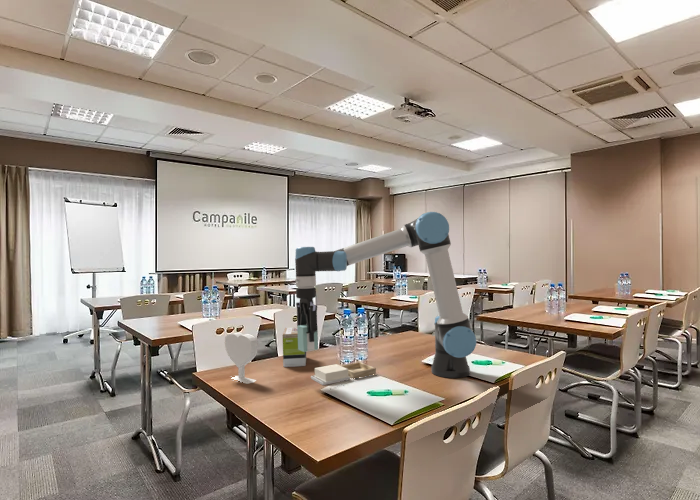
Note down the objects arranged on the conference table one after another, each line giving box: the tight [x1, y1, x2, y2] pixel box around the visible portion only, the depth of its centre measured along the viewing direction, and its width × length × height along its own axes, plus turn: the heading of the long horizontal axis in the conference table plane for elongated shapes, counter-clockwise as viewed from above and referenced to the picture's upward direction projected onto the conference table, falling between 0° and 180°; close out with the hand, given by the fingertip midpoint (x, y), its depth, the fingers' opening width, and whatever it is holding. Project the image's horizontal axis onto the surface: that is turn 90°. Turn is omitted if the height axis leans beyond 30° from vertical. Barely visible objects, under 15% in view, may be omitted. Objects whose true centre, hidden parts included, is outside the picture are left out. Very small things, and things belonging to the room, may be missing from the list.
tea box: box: [282, 327, 307, 368], centre depth 183 cm, size 15×10×15 cm, turn 5°
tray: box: [341, 361, 377, 380], centre depth 164 cm, size 12×11×3 cm
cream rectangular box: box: [310, 363, 351, 386], centre depth 158 cm, size 10×12×4 cm
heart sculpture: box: [224, 332, 259, 385], centre depth 159 cm, size 16×5×18 cm, turn 56°
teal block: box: [296, 325, 319, 353], centre depth 153 cm, size 5×6×9 cm
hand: (307, 348), depth 152 cm, fingers closed on teal block, 5 cm apart
